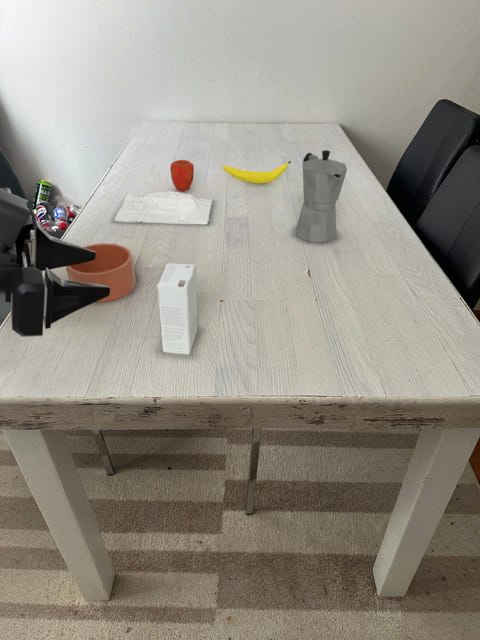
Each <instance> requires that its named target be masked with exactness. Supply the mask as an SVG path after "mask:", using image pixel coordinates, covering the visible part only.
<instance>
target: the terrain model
mask: <svg viewBox="0 0 480 640" xmlns="http://www.w3.org/2000/svg"><path fill="white" fill-rule="evenodd" d="M212 205H213V199H210V198H209V199H208V198H197V197H196V196H194V195H192V194H188V193H187V194H185V193H181V192H180V191H159V192H149V193H148V194H147V195H144V196H137V195H136V194H133V193H128V194H127V195H126V196H125V198H124V201H123V203H122V205H121V207H120V209H118V211H117V213H116V215H115V216H114V222H117V223H138V224H139V223H142V224H143V223H144V224H171V225H172V224H175V225H176V224H177V225H208V224H209V223H210V215H211V210H212Z"/></svg>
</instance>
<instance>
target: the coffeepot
mask: <svg viewBox="0 0 480 640" xmlns="http://www.w3.org/2000/svg"><path fill="white" fill-rule="evenodd" d="M321 154H322V155H321V157H322V158H319V156H318V155H316V154H313V153H311V152H307V153H306V154H305V156H304V157H303V159H302V164H301V165H302V187H303V203H302V205H301V210H300V213H299V216H298V220H297V223H296V224H297V225H296V227H295V229H296V231H295V232H296V237H298V238H299V239H301V240H303V241H306V242H310V243H316V244H317V243H318V244H319V243H328V242H330V241H333V240H334V239H335V238H337V210H336V204H337V201H339V198H340V194H341V191H342V188H343V185H344V181H345V178H346V176H347V175H346V174H347V171H348V168H347V165H346V163H344V162H341V161H337V160H334V159H330V158H329V157H330V154H331V151H330V150H328V149H324V150H322V151H321Z"/></svg>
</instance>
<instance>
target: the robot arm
mask: <svg viewBox="0 0 480 640" xmlns="http://www.w3.org/2000/svg"><path fill="white" fill-rule="evenodd" d="M28 203H29V201H28V200H27V199H25V198H23V197H20V196H18V195H16V194H13V193H12V190H11V188H9V187H6V186H5V187H0V295H4V301H5V303H10V318H11V319H10V320H11V330H12V331H13V332H15V333H16V334H18V335H19V336H20V337H22V338H28V337H29V338H31V337H43V335H44V329H45V330H48V329H51V327H52V324H55V323H56V322H58V321H60V320H61V319H64V318H65V317H67V316H70V315H71V314H73V313H75V312H78V311H79V310H81V309H83V308H86V307H87V306H91V305H92V304H94V303H98V302H97V301H99V300H101V299H103V298H106V297H108V296H109V295H110V287H109V286H104V285H99V284H92V283H84V282H76V281H69V280H67V279H62V278H60V277H59V276H58V275H56V273H54V272H53V271H52V270H53V269H55V270H56V269H59V268H64V267H65V268H66V266H70V265H76V264H81V263H85V262H89V261H93V260H95V258H96V253H95V251H92V250H89V249H86V248H83V247H84V246H80V245H77V244H74V243H71V242H68V241H65V240H62V239H60V238H57V237H55V236H52V235H50V234H49V233H48V231H46V230H45V228H44V227H43V226H42V225H41V223H40V222H39V221H38V220H36V219H35V221H34V223H33V218H32V214H31V211H30V208H28ZM33 224H34V225H33ZM33 227H34V230H32V229H33ZM33 266H34V267H33ZM43 272H44V273H43Z"/></svg>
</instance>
